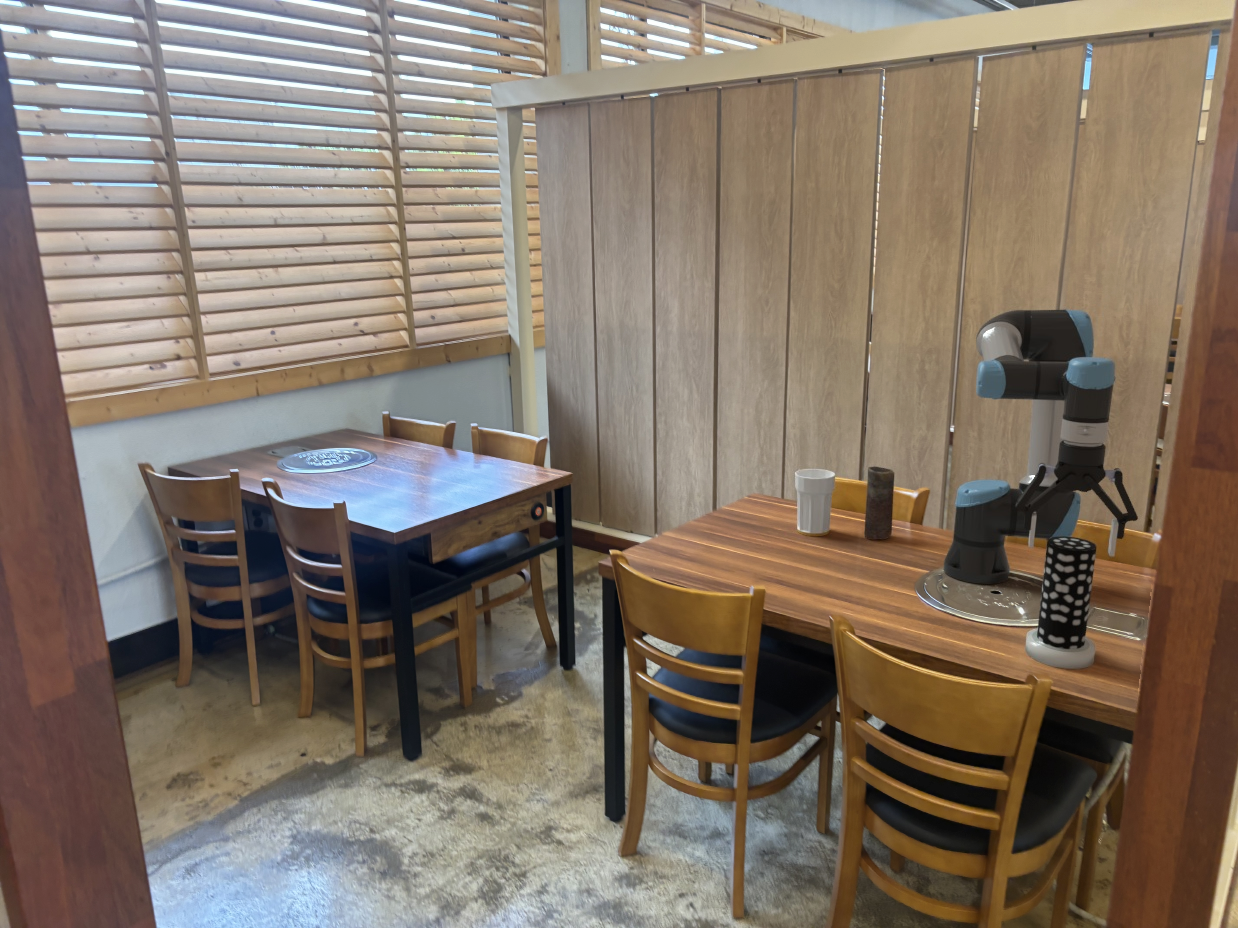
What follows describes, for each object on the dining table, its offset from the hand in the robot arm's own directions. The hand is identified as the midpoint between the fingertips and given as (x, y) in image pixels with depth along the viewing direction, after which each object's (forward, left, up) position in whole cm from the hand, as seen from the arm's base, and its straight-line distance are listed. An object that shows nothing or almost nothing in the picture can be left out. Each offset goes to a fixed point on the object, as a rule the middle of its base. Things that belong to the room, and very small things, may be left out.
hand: (1070, 549), depth 158 cm
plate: (0, 0, -22) cm, 22 cm away
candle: (-42, +61, -22) cm, 77 cm away
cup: (-60, +60, -22) cm, 87 cm away
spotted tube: (0, 0, -19) cm, 19 cm away
